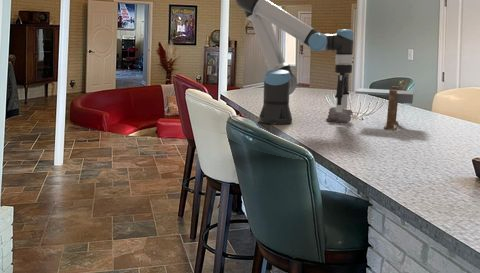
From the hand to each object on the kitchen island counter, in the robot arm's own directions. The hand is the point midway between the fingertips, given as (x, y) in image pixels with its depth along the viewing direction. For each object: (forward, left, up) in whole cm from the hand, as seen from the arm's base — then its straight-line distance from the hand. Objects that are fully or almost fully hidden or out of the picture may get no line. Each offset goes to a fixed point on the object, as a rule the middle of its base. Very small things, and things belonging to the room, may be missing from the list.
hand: (341, 110), depth 217 cm
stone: (-1, 0, -6) cm, 6 cm away
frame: (+23, 0, -6) cm, 23 cm away
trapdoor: (+19, 0, +6) cm, 20 cm away
